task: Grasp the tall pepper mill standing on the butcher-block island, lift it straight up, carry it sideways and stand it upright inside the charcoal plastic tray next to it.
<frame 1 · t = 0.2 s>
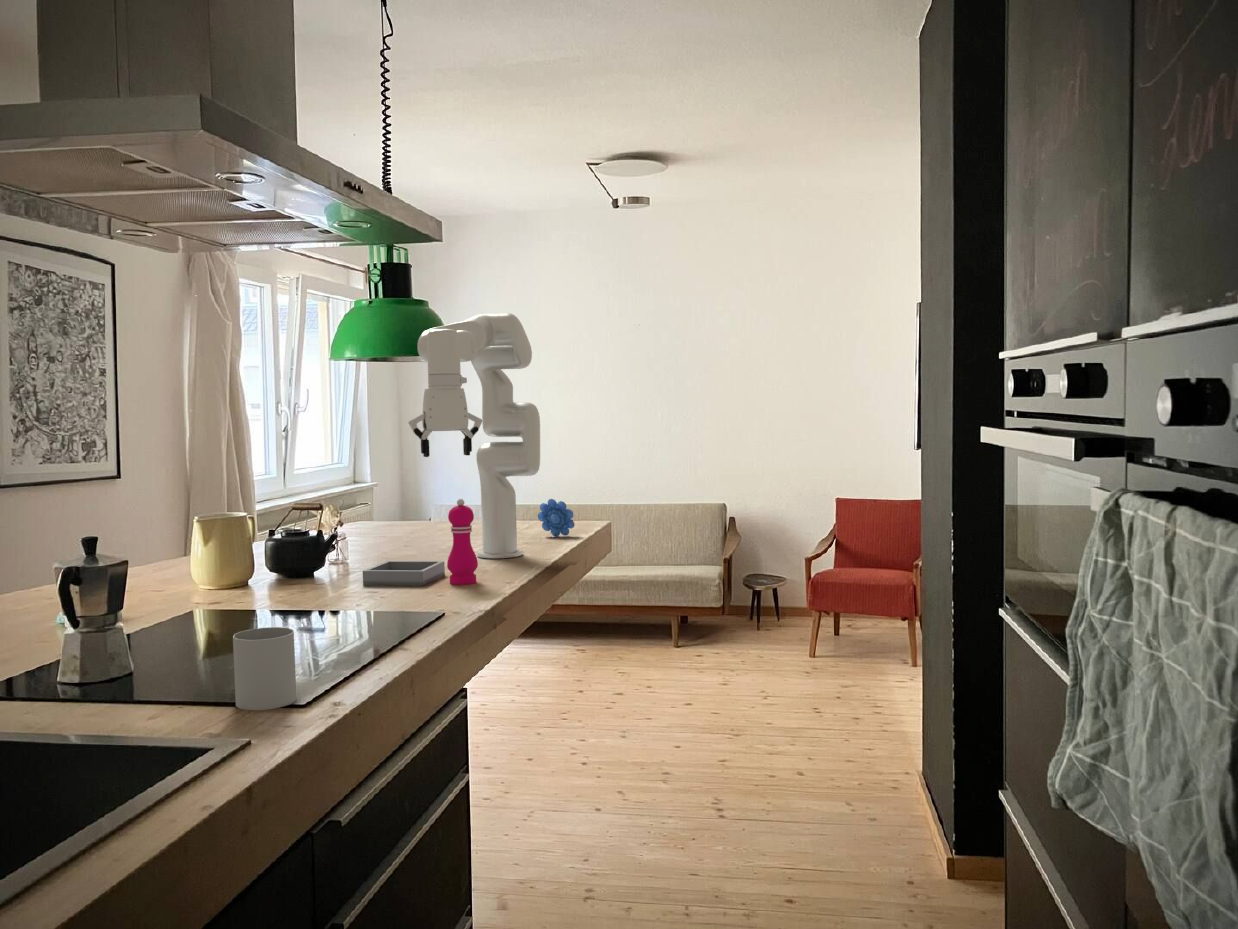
hand: (446, 455, 242), 30 cm above the table, tool pointing down, fingers open, 9 cm apart
cup: (266, 703, 150), on the table
pepper mill: (463, 583, 246), on the table
tray: (404, 580, 251), on the table
blue toy flower: (556, 537, 325), on the table
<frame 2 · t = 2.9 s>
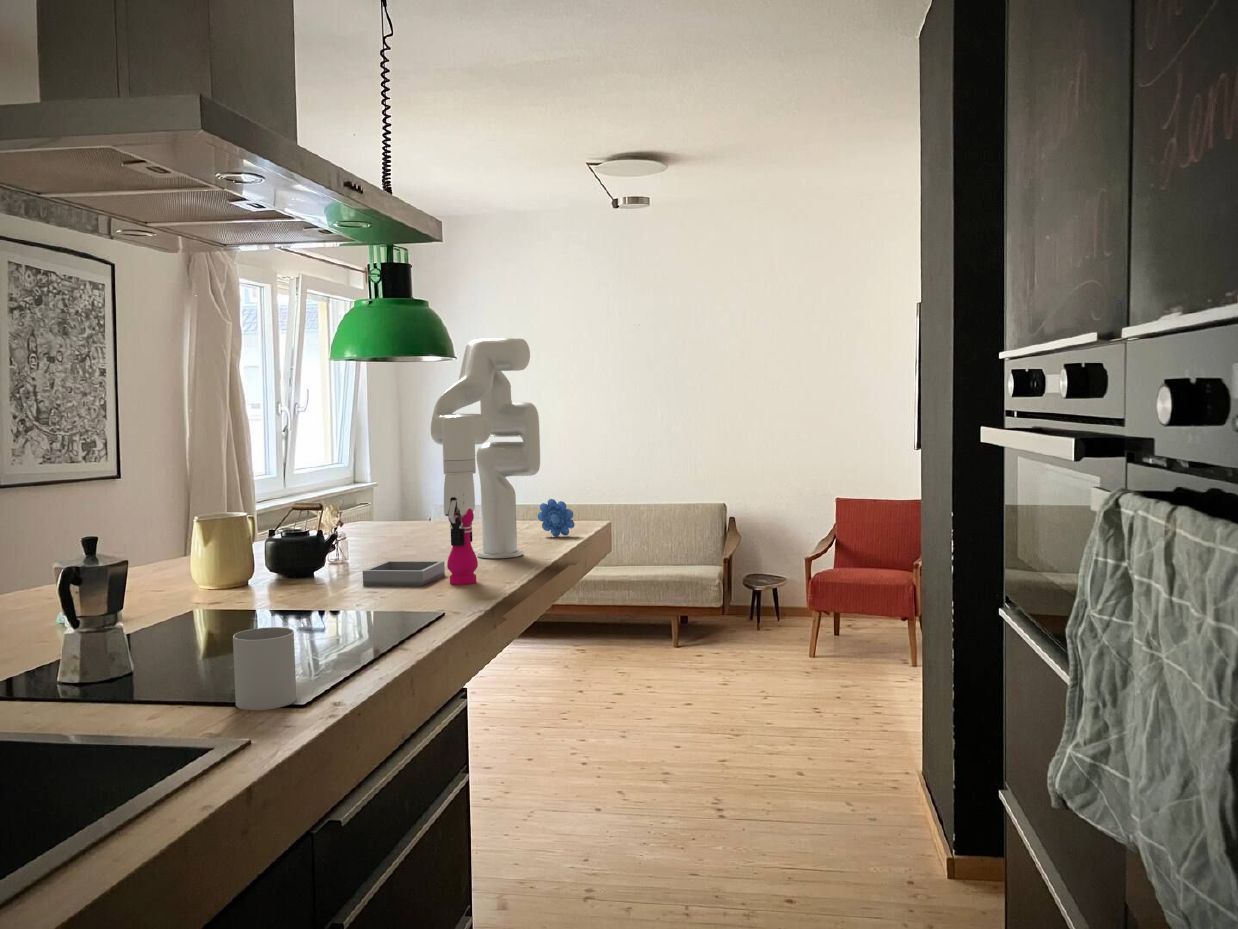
hand: (461, 543, 245), 9 cm above the table, tool pointing down, fingers closed on pepper mill, 5 cm apart
pepper mill: (463, 583, 246), on the table, touching gripper
everything else where it was.
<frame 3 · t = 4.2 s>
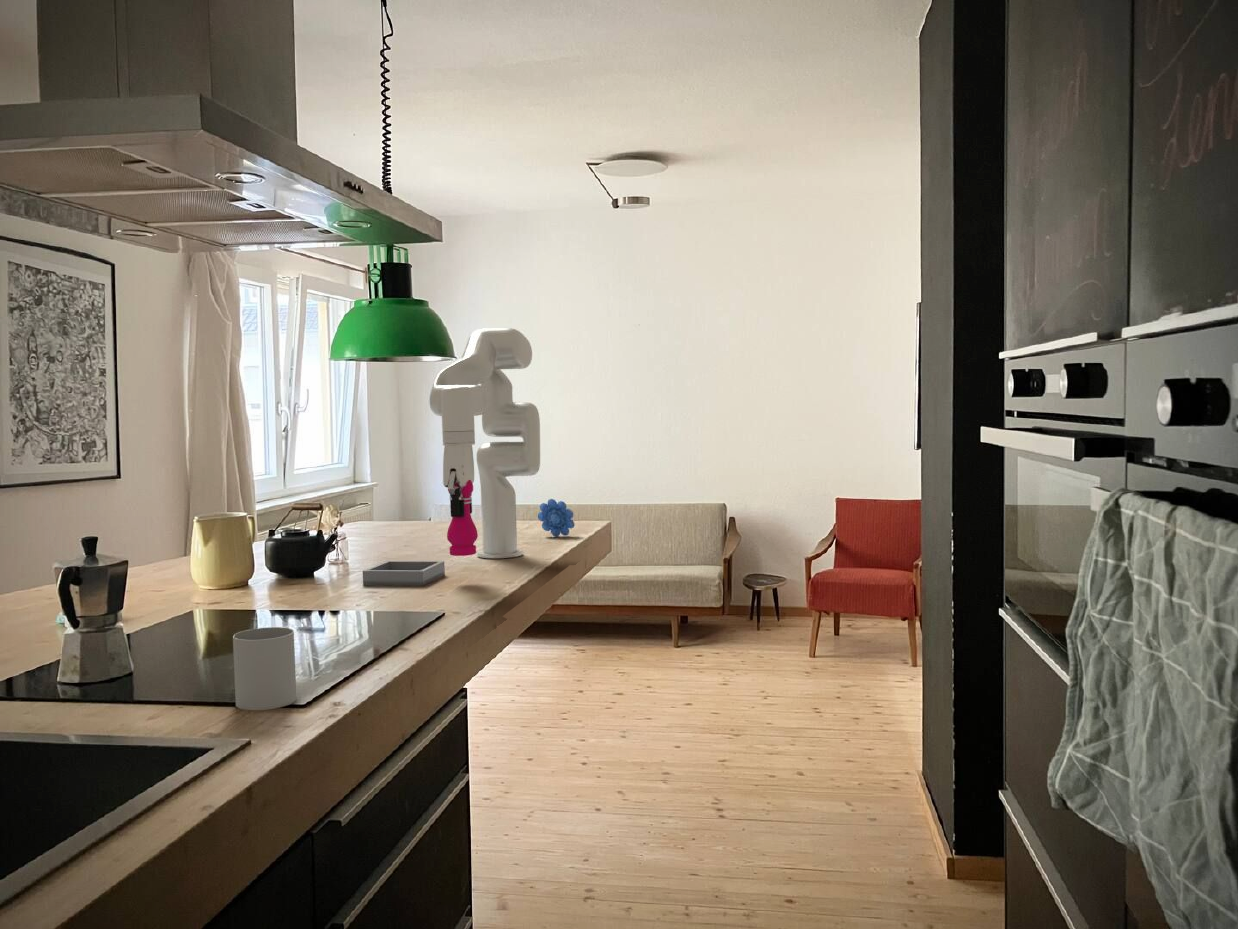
hand: (461, 514, 245), 16 cm above the table, tool pointing down, fingers closed on pepper mill, 5 cm apart
pepper mill: (463, 554, 246), point 7 cm above the table, touching gripper
everything else where it was.
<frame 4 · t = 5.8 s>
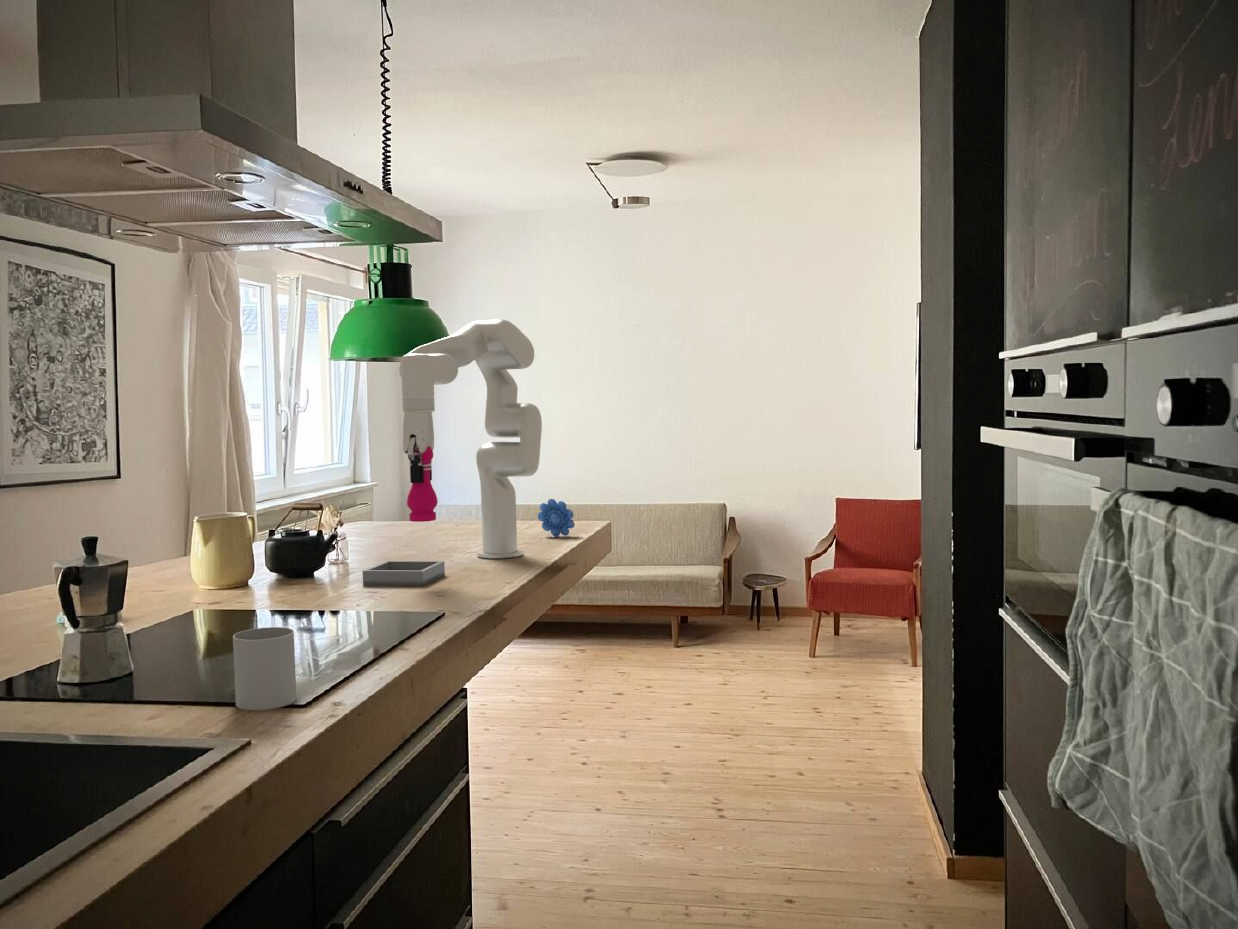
hand: (421, 481, 248), 24 cm above the table, tool pointing down, fingers closed on pepper mill, 5 cm apart
pepper mill: (422, 521, 248), point 15 cm above the table, touching gripper
everything else where it was.
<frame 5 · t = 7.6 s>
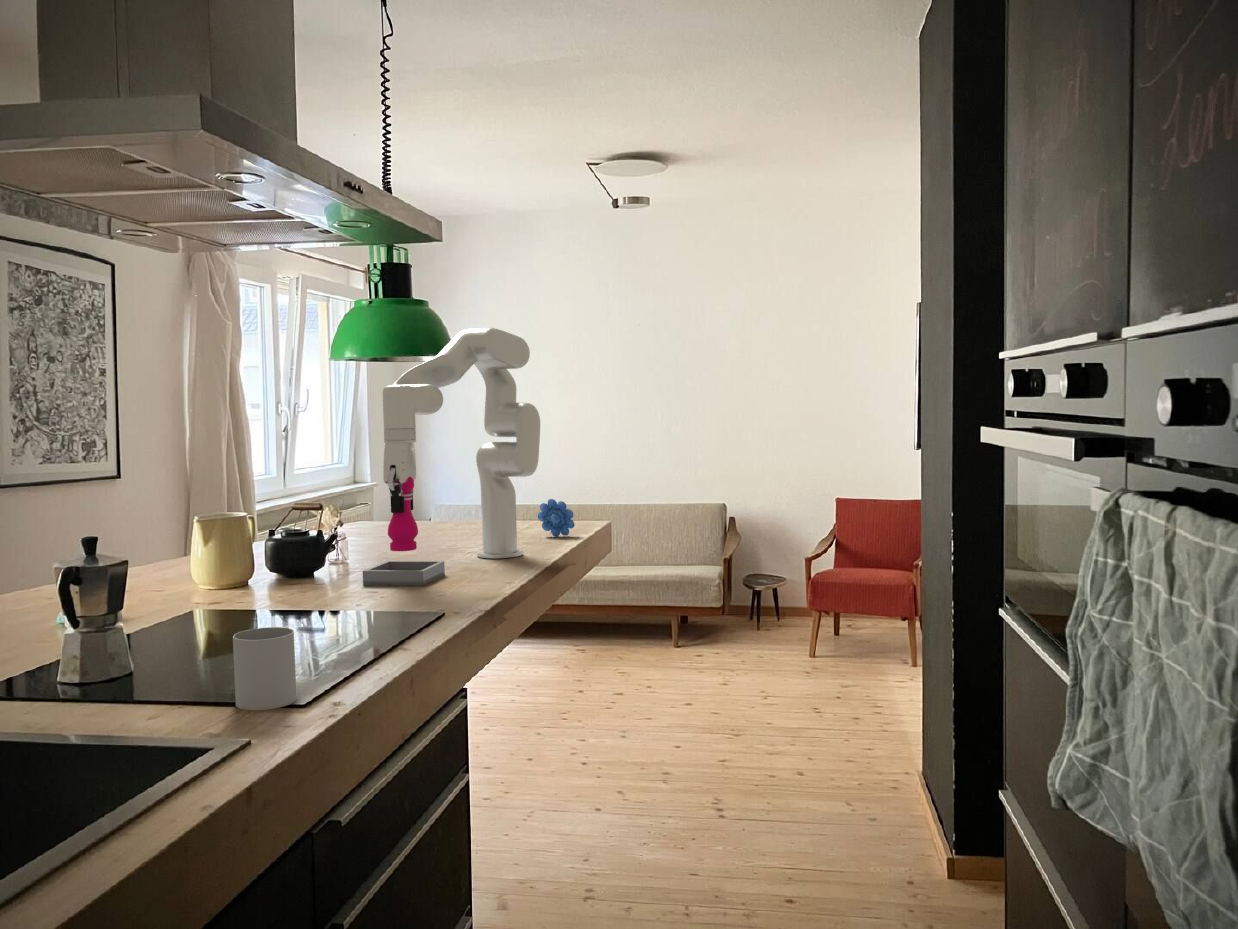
hand: (402, 510, 250), 17 cm above the table, tool pointing down, fingers closed on pepper mill, 5 cm apart
pepper mill: (403, 550, 250), point 7 cm above the table, touching gripper
everything else where it was.
when the fingers open (12 cm above the table, at t = 9.0 s): pepper mill drops 1 cm, resting on tray.
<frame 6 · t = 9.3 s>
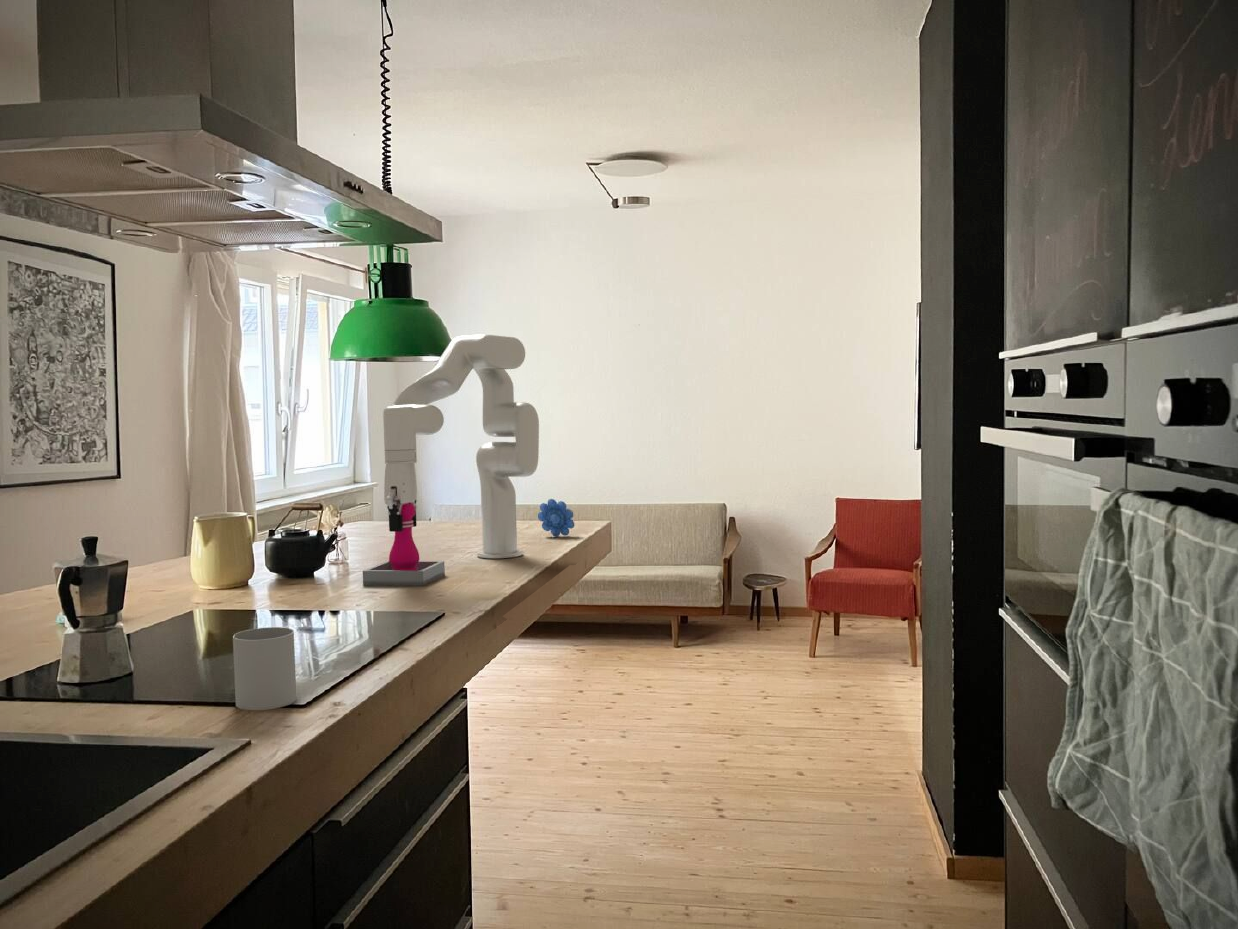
hand: (403, 528, 250), 13 cm above the table, tool pointing down, fingers open, 8 cm apart
pepper mill: (404, 577, 250), point 1 cm above the table, touching tray
everything else where it was.
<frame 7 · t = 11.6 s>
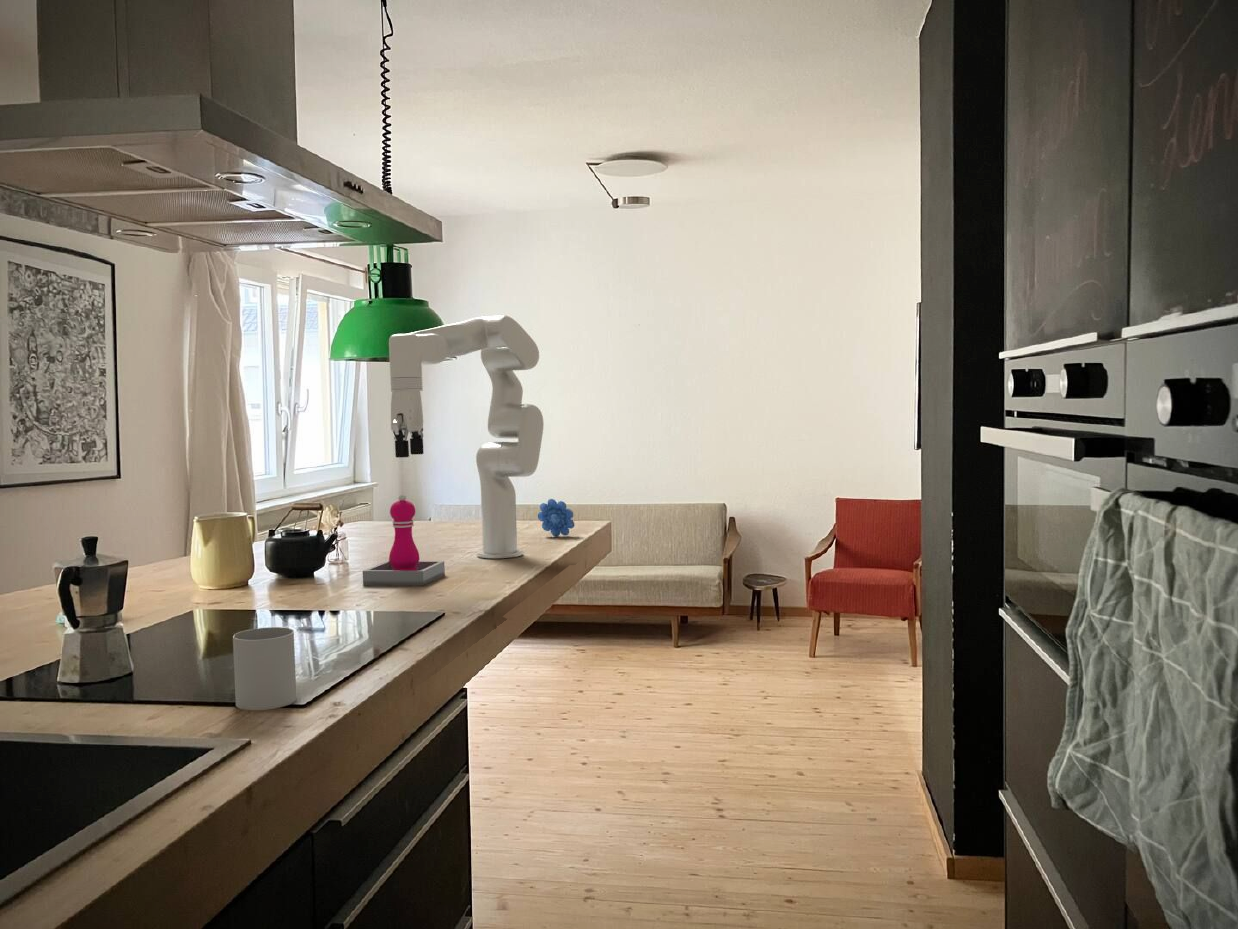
hand: (409, 455, 252), 30 cm above the table, tool pointing down, fingers open, 9 cm apart
nothing on the table moved.
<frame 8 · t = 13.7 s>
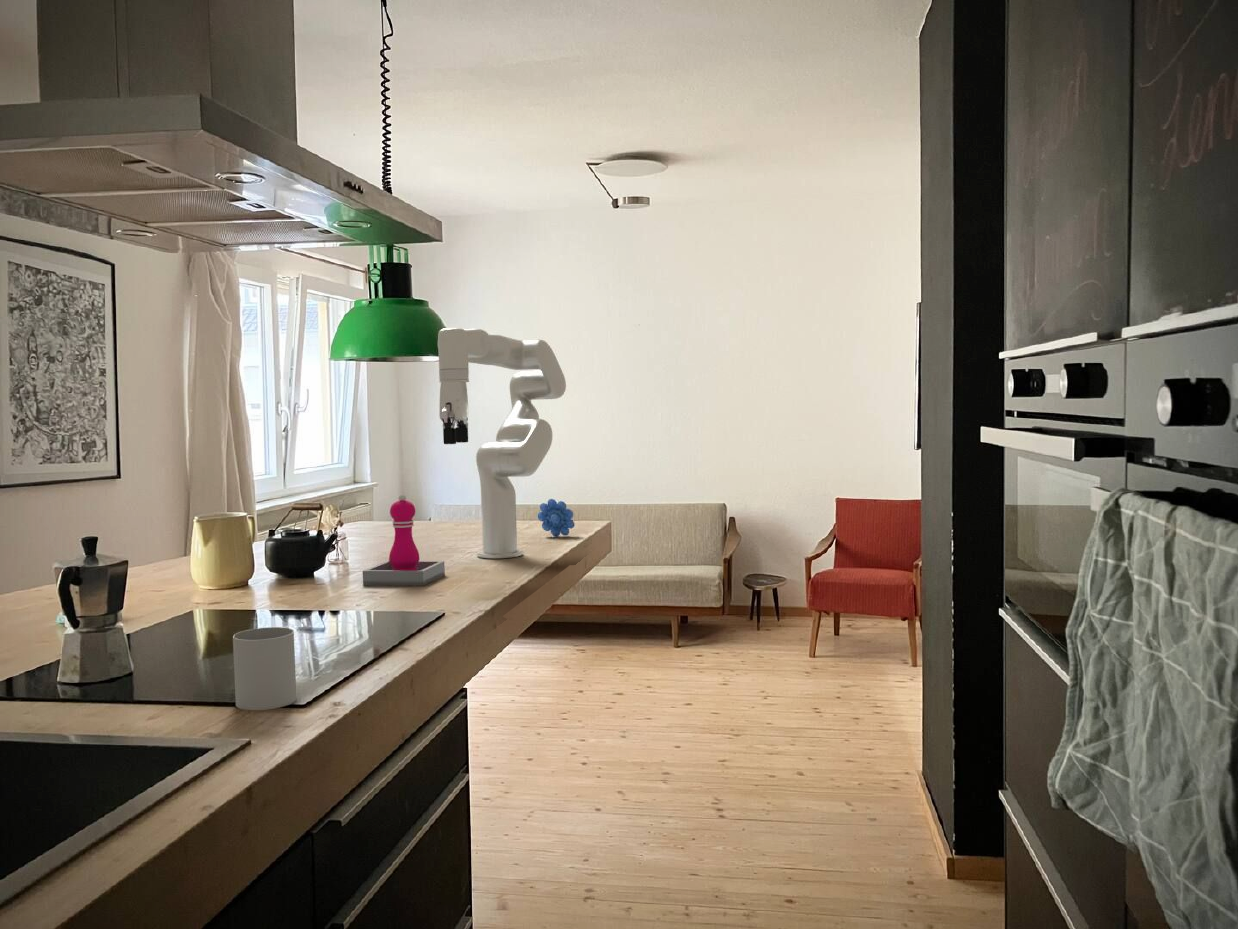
hand: (456, 443, 267), 32 cm above the table, tool pointing down, fingers open, 9 cm apart
nothing on the table moved.
at the end: pepper mill inside the target area on the tray (0.2 cm from its centre), point 0.8 cm above the tray's base; pepper mill tilted 0°; the gripper is holding nothing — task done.
